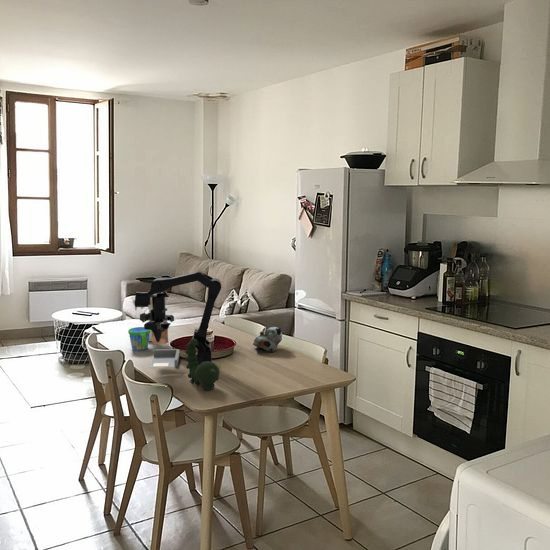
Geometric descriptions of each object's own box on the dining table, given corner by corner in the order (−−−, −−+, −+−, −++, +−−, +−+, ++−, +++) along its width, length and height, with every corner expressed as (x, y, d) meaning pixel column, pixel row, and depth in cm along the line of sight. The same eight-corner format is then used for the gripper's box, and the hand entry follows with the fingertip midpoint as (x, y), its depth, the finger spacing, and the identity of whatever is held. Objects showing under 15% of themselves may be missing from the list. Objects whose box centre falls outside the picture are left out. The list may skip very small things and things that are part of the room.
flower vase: (130, 339, 322) (128, 292, 318) (164, 335, 331) (162, 289, 327) (138, 345, 311) (136, 296, 307) (172, 340, 320) (171, 293, 316)
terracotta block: (156, 341, 281) (155, 328, 280) (168, 342, 279) (167, 328, 278) (152, 343, 277) (151, 330, 276) (164, 344, 276) (163, 331, 275)
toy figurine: (180, 382, 260) (205, 395, 239) (178, 338, 259) (203, 347, 237) (201, 378, 265) (227, 391, 244) (198, 335, 263) (225, 343, 242)
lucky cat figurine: (254, 345, 310) (266, 320, 311) (275, 356, 309) (287, 331, 310) (249, 344, 296) (262, 318, 297) (272, 356, 294) (284, 329, 295)
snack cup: (154, 352, 299) (153, 332, 297) (132, 355, 294) (131, 334, 293) (147, 344, 313) (146, 324, 311) (126, 346, 309) (125, 326, 307)
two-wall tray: (179, 355, 293) (179, 349, 292) (177, 367, 275) (177, 360, 275) (153, 356, 292) (153, 349, 291) (150, 368, 274) (149, 361, 273)
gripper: (152, 301, 287) (153, 334, 289) (132, 310, 269) (133, 344, 271) (174, 303, 284) (175, 335, 286) (155, 311, 266) (156, 346, 268)
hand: (160, 340), depth 278 cm, fingers closed on terracotta block, 4 cm apart
